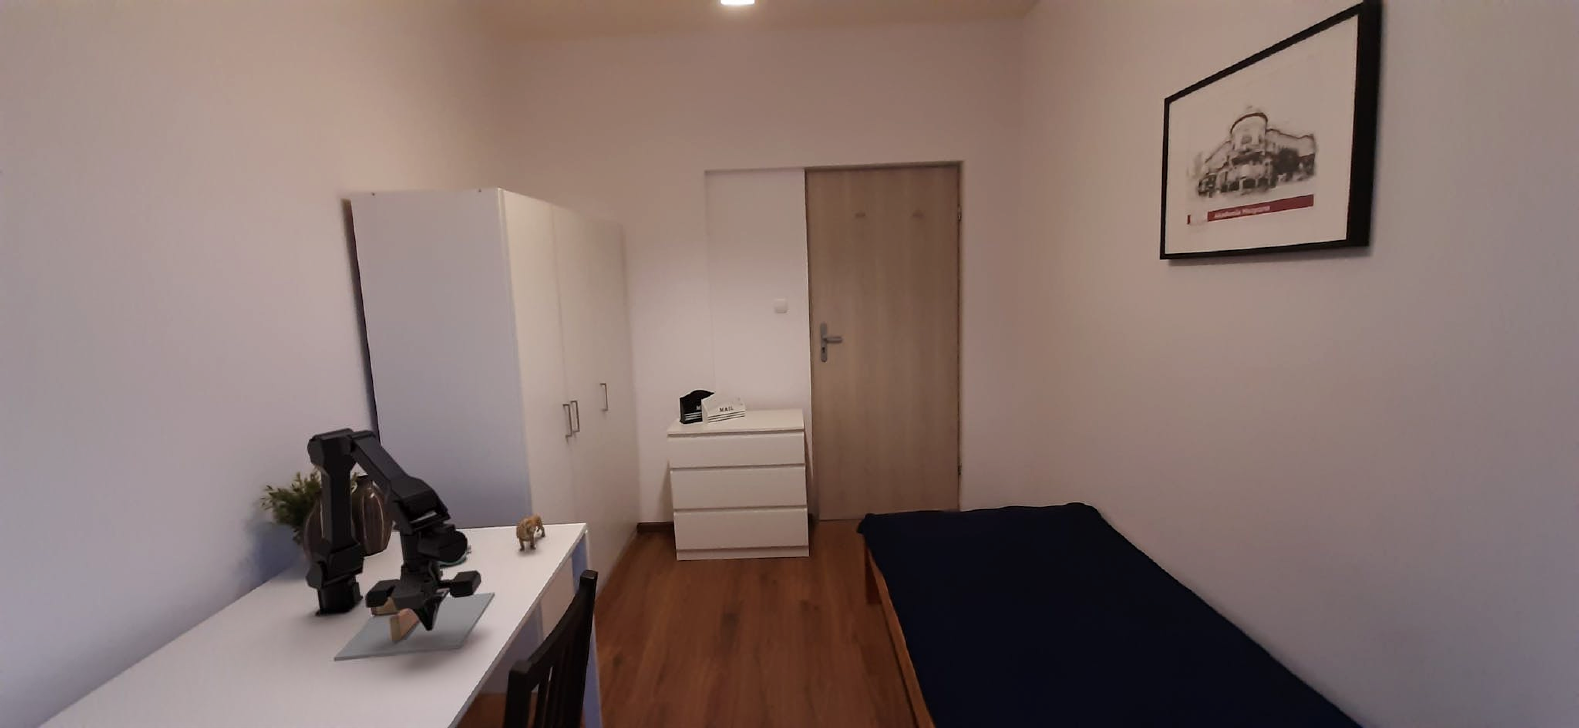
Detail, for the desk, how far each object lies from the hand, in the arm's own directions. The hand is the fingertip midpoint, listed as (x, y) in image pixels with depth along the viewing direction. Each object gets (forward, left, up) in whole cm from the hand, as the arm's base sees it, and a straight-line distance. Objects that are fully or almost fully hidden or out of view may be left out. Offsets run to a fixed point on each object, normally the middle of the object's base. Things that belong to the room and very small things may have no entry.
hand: (430, 629), depth 122 cm
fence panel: (-6, +5, -1) cm, 8 cm away
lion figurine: (+8, +42, -2) cm, 43 cm away
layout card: (-4, +6, -2) cm, 8 cm away
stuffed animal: (-11, +37, -3) cm, 38 cm away
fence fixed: (-11, +11, -1) cm, 16 cm away
